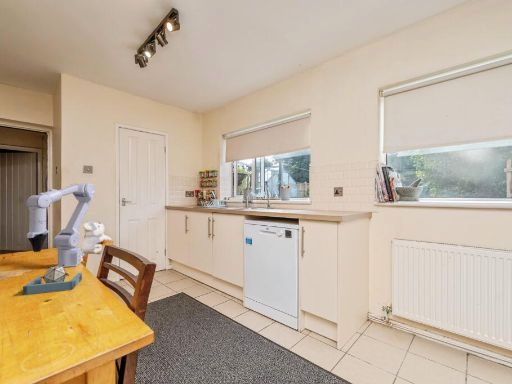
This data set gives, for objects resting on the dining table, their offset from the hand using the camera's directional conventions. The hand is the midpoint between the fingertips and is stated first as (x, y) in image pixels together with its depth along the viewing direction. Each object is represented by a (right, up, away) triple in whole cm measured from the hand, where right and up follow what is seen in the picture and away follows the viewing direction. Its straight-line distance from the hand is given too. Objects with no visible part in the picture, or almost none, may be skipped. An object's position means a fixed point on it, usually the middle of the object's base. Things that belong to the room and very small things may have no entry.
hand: (37, 251), depth 113 cm
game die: (+19, -11, -14) cm, 26 cm away
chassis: (+20, -10, -14) cm, 26 cm away
